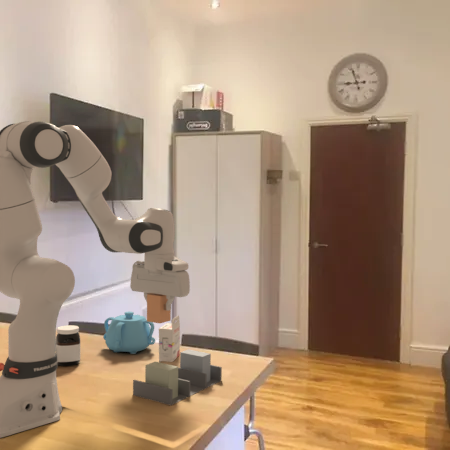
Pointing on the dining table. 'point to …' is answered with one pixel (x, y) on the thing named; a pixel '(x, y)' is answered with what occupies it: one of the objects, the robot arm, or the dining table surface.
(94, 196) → the robot arm
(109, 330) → the decorative pot
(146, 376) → the sage block
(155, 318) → the terracotta plug
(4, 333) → the dining table surface
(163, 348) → the ink cartridge box
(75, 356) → the spread jar
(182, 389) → the slot rack
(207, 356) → the blue-grey block
